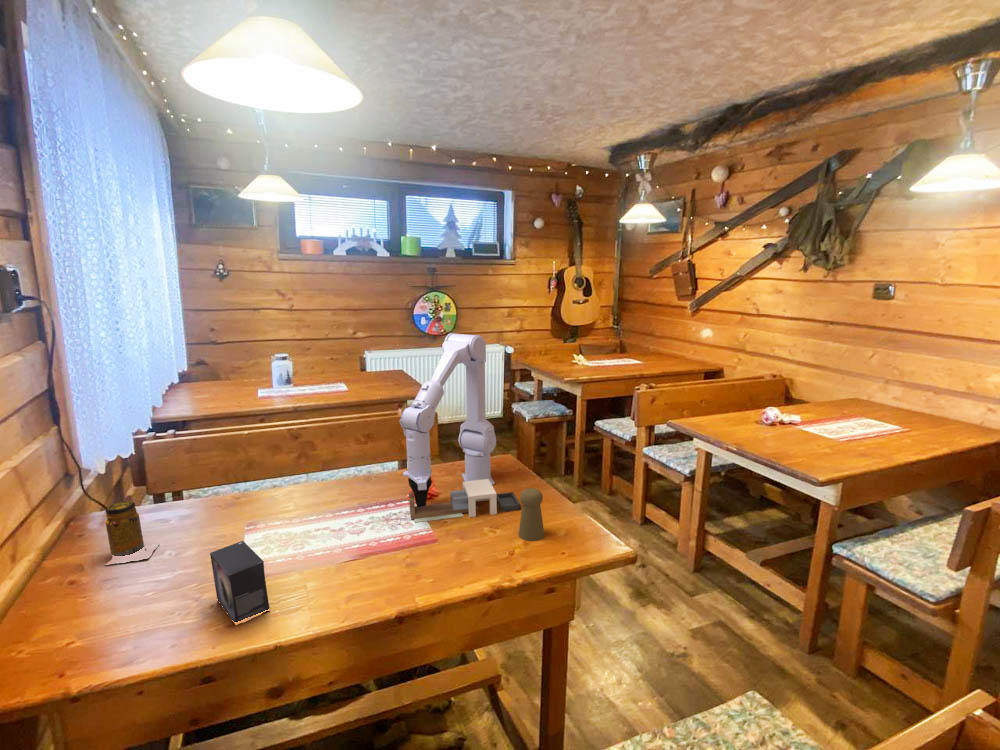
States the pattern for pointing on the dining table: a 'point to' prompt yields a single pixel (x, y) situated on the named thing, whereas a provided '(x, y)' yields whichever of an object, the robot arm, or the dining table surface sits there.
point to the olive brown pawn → (531, 515)
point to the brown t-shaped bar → (441, 506)
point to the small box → (239, 581)
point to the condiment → (123, 528)
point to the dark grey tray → (508, 502)
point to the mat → (438, 517)
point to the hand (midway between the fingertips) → (421, 505)
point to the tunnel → (480, 495)
